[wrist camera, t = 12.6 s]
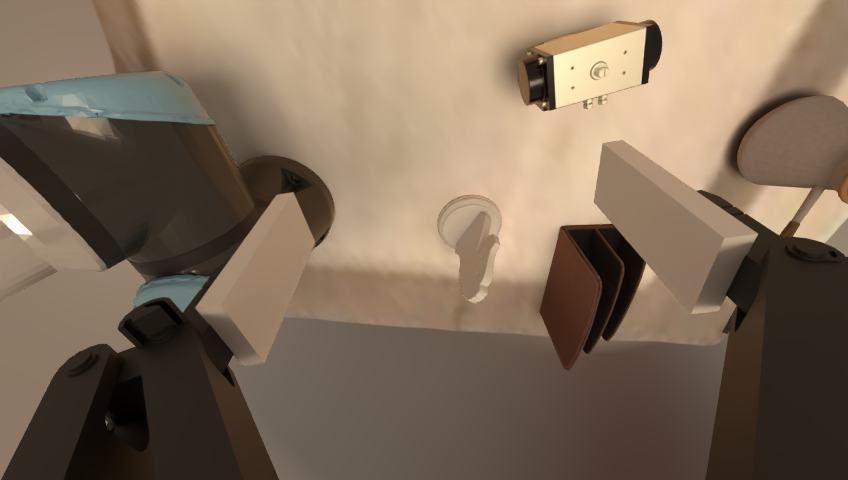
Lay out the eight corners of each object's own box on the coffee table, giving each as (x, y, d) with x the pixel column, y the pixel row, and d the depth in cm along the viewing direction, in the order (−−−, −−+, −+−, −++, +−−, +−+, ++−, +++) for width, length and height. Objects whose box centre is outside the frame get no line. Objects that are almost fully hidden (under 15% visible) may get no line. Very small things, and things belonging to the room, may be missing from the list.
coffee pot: (792, 71, 40) (955, 102, 28) (841, 118, 43) (1006, 164, 31) (646, 207, 51) (718, 273, 39) (695, 236, 54) (775, 305, 42)
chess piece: (513, 212, 51) (544, 278, 39) (477, 256, 56) (493, 327, 44) (460, 183, 48) (474, 246, 36) (426, 233, 53) (428, 302, 41)
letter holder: (538, 311, 64) (564, 378, 53) (560, 224, 53) (599, 287, 41) (590, 309, 64) (628, 376, 53) (623, 222, 53) (680, 284, 41)
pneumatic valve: (503, 47, 38) (533, 64, 28) (611, 14, 36) (681, 19, 27) (509, 97, 41) (538, 127, 32) (608, 68, 40) (671, 90, 30)
